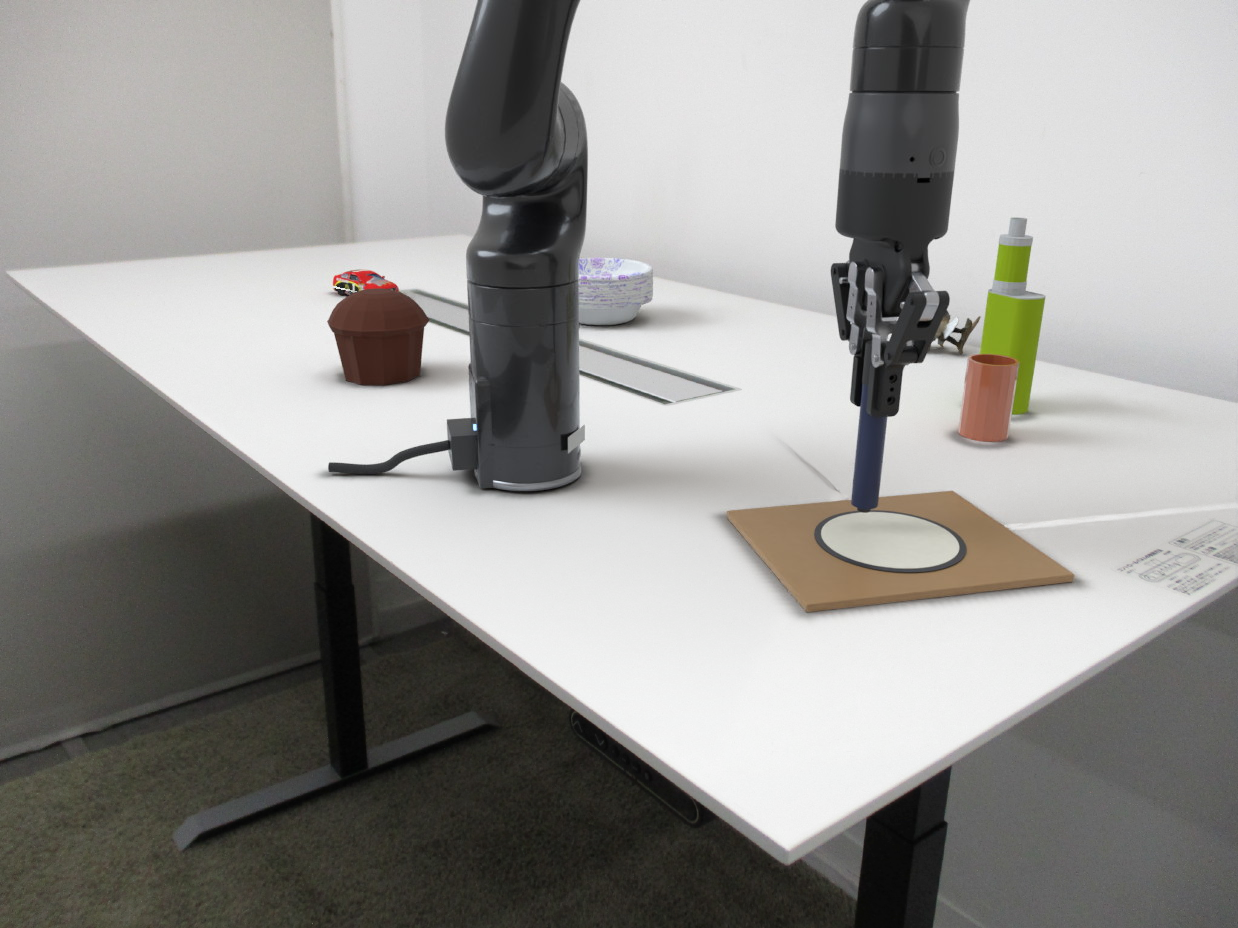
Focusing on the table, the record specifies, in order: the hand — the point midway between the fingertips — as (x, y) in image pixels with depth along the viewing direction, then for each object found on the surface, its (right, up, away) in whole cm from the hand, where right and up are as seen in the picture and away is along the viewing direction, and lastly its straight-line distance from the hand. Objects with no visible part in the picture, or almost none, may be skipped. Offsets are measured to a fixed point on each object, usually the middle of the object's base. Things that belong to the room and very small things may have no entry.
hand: (873, 409), depth 74 cm
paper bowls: (-21, +17, +75) cm, 80 cm away
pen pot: (+17, -2, +25) cm, 31 cm away
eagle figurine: (+23, +11, +59) cm, 65 cm away
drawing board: (+2, -10, +2) cm, 10 cm away
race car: (-60, +23, +91) cm, 111 cm away
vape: (+22, +2, +34) cm, 41 cm away
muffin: (-47, +6, +46) cm, 66 cm away
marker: (0, -8, +3) cm, 8 cm away
